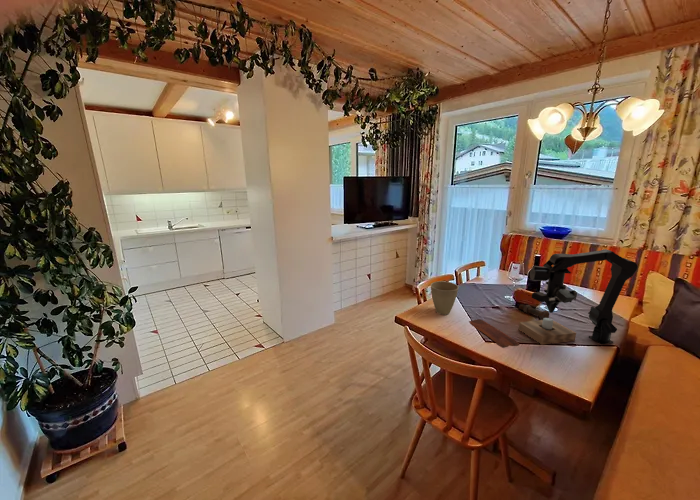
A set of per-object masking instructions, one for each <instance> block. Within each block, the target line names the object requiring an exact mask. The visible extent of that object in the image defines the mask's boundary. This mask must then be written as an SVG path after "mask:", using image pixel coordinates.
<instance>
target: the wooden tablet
mask: <svg viewBox="0 0 700 500" xmlns="http://www.w3.org/2000/svg"><path fill="white" fill-rule="evenodd" d="M468 323H469V324H470V325H471V326H472V327H474V328H475V329H477V331H479V332H481V333H483V334H484V335H485V336H487V338H488V339H491V341H493V342H494V343H496V344H497V345H499V347H502V348H505V349H506V348H508V347H517V346H518V347H519V346H520V343H519V342H518V341H517V340H515V338H512V337H511V336H509V335H508V334H506V333H504V332H503V331H502V330H500V329H498V328H497V327H495V326H493V325H491V324H490V323H488V322H486V321H485V320H483V319H481V318H477V319H473V320H472V319H471V320H470V321H468Z"/></svg>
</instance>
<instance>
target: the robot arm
mask: <svg viewBox="0 0 700 500" xmlns="http://www.w3.org/2000/svg"><path fill="white" fill-rule="evenodd" d="M602 261H607V262H609V263H610V264H611V267H610V273H611V277H610V279H609V281H608V284H607V286H606V288H605V290H604V292H603V294H602V297H601V299H600V301H599V303H598V305H596V306H591V307H590V308H589V309H590V310H589V312H588V313H587V314H588V318H589V320H590V321H591V323H592V324H593V325H594V326H593V329H592V335H588V338H589V339H591V340H593V341H595V342H597V343H598V344H601V345H606V344H608V345H609V344H613V343H614V341H613V340H611V336H612V334H615V333H616V332H617V331H618V328H617V327H616V326H615V325H614V324H613V319H614V314H613V310H614V307H615V304H616V303H617V301H618V298H619V296H620V294H621V292H622V289H623V287H624V285H625V283H626V281H628V280H629V279H630V278H632V277H633V276H634V275H635V273H637V271H638V268H639V266H638V264H637V263H636V262H635V261H632V260H630V259H627V258H625V257H622V256H621V255H619V254H617V253H615V252H614V251H612V250H609V249H607V248H605V249H601V250H596V251H587V252H581V253H579V252H578V253H574V254H572V253H571V254H570V253H568V254H567V253H554V254H552V255H551V256H550V258H549V259H548V260H547V261H546V262H545V263H544V264H543V265H542V266H538V265H533V266H532V268H531V269H530V271H529V277H530V280H531V281H535V282H537V281H538V282H540V281H542V282H545V285H547V288H546V289H544V293H543V292H541V291H537V292H536V291H533V292H532V293H531V298H532V299H534V301H538V302H540V303H545V305H546V307H547V311H548V312H549V314H550V313H551V314H553V313H554V312H555V309H556V308H557V307H558V305H559V304H560V303H564V304H566V303H572V302H573V300H576V299H577V297H578V296H577V295H578V292H577V291H576V290H575V289H574V290H569V289H567V287H566V284H564V283H565V282H564V281H565V275H566V274H569V275H570V274H571V273H572V272H571V271H570V270H569V269H568V268H571V267H574V266H575V265H578V264H579V265H580V264H588V263H592V262H602Z"/></svg>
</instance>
